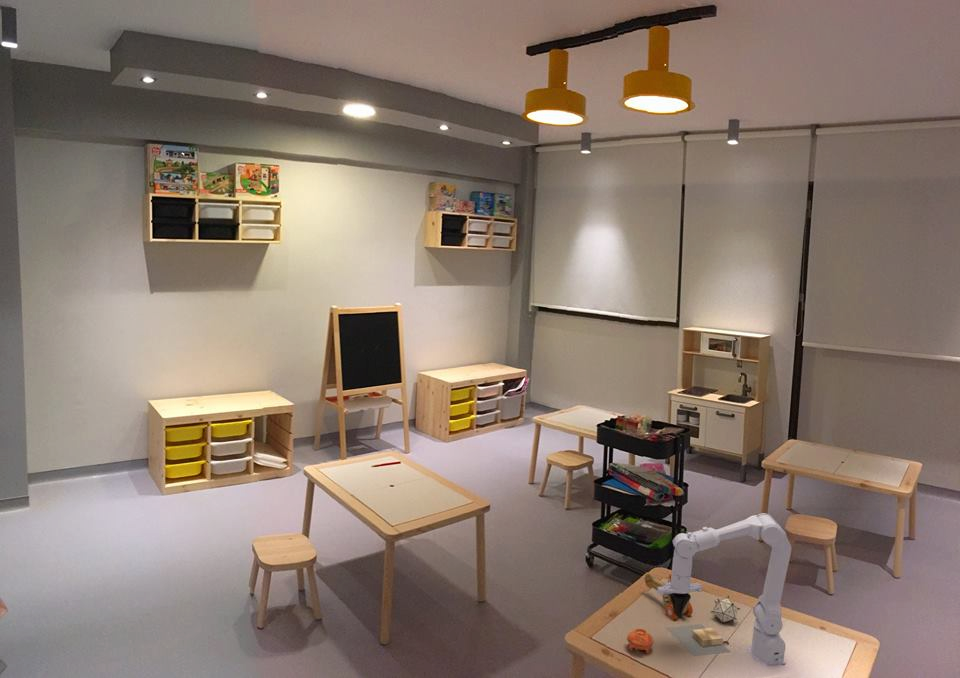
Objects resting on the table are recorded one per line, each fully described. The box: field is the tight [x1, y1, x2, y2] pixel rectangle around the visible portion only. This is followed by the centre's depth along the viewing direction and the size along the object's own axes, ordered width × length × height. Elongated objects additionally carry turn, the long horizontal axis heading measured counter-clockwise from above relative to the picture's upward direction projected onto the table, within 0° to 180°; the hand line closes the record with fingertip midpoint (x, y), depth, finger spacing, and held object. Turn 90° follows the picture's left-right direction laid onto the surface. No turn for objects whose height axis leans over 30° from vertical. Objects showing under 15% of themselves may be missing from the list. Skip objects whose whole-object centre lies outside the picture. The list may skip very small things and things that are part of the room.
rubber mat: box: [666, 623, 731, 657], centre depth 221 cm, size 16×13×1 cm
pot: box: [626, 628, 655, 654], centre depth 214 cm, size 8×8×7 cm
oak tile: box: [692, 627, 723, 646], centre depth 221 cm, size 6×2×7 cm
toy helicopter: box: [644, 573, 693, 621], centre depth 241 cm, size 8×21×14 cm, turn 27°
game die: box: [710, 595, 741, 625], centre depth 234 cm, size 9×8×10 cm
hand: (677, 614), depth 216 cm, fingers closed
